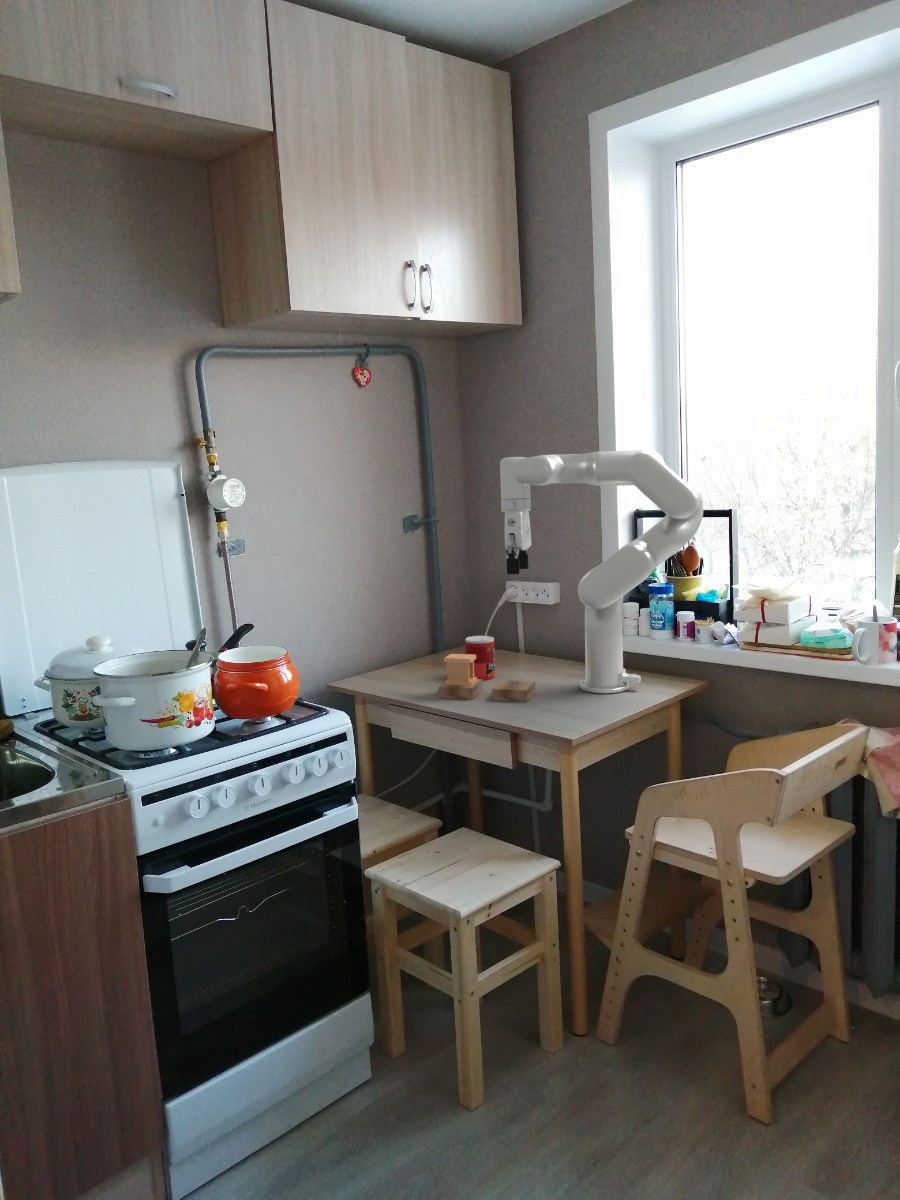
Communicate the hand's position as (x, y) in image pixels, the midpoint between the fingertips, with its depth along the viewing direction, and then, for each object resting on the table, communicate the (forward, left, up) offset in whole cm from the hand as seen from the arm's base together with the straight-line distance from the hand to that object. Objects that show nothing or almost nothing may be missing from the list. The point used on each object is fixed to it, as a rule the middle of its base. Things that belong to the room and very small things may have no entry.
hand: (518, 571), depth 247 cm
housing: (+13, +12, -27) cm, 32 cm away
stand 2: (-1, +12, -30) cm, 33 cm away
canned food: (+13, -6, -31) cm, 34 cm away
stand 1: (+13, +12, -30) cm, 35 cm away
